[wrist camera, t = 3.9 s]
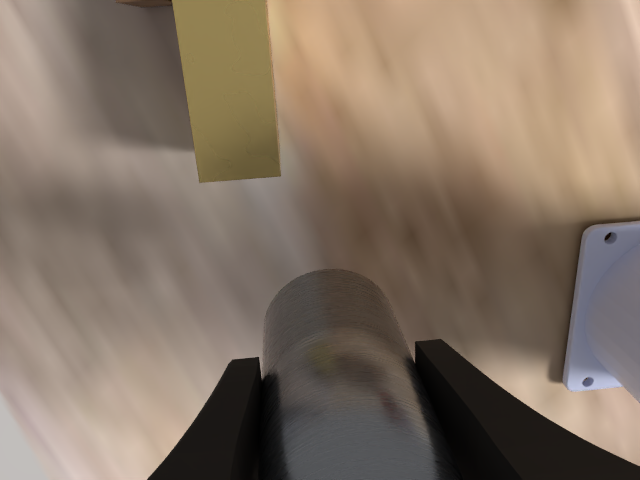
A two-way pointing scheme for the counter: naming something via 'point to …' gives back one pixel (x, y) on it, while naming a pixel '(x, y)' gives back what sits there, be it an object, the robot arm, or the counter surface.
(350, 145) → the counter surface
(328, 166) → the counter surface
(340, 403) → the peg
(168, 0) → the mount
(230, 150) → the khaki rectangular plank
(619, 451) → the counter surface
